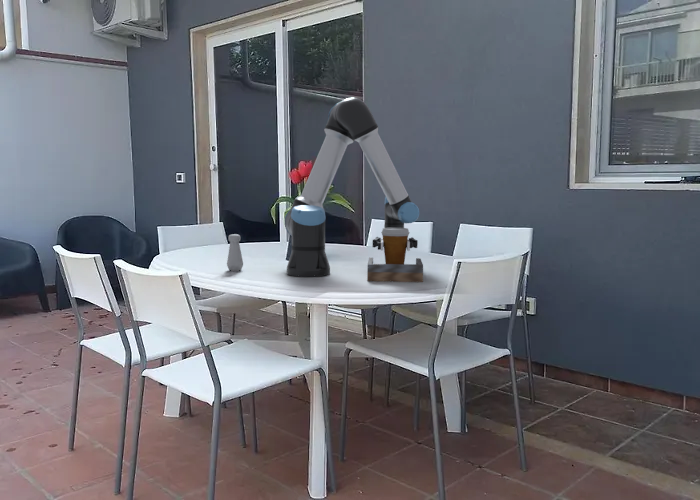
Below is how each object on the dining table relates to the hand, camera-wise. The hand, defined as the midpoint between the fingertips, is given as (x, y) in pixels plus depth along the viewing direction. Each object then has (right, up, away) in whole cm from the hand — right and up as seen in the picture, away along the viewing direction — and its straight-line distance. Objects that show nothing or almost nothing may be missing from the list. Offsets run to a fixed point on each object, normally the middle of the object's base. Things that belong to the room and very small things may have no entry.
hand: (395, 246), depth 198 cm
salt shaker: (-56, -9, +18) cm, 60 cm away
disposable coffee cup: (0, -6, +6) cm, 8 cm away
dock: (0, -10, +5) cm, 12 cm away
